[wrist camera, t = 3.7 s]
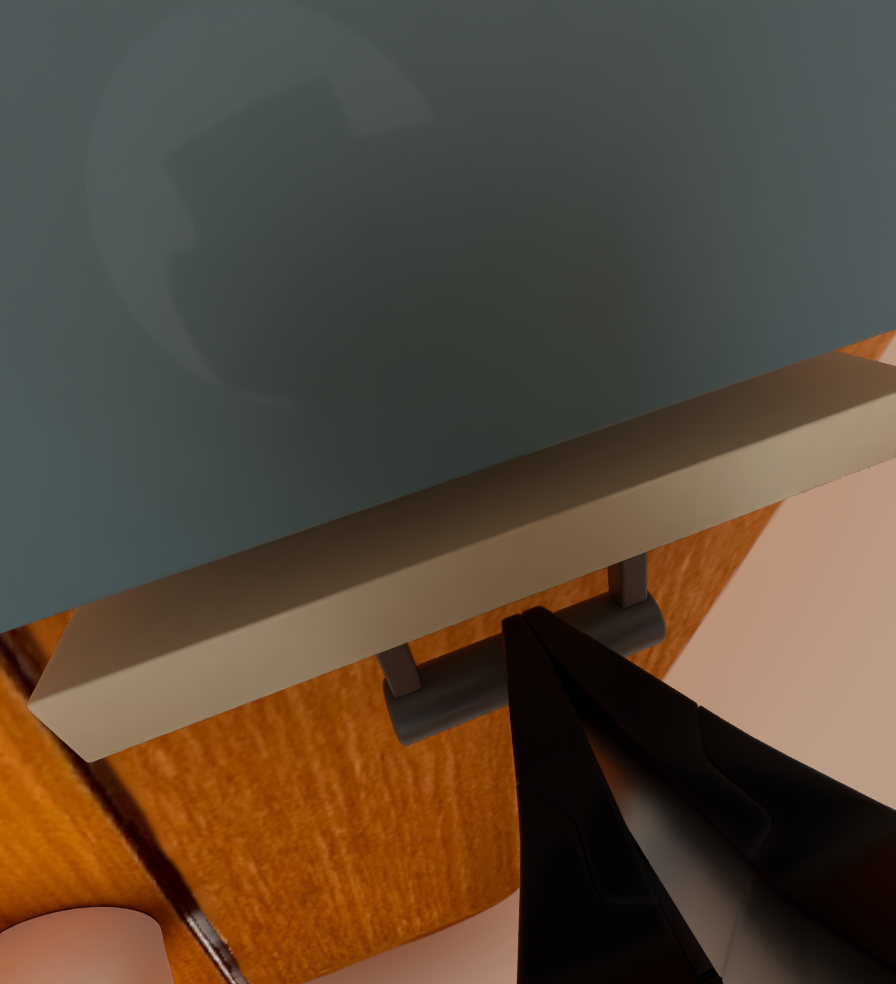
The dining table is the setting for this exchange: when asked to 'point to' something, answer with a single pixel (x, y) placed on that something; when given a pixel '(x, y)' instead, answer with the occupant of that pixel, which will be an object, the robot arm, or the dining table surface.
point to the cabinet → (400, 248)
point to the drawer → (461, 564)
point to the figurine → (85, 949)
